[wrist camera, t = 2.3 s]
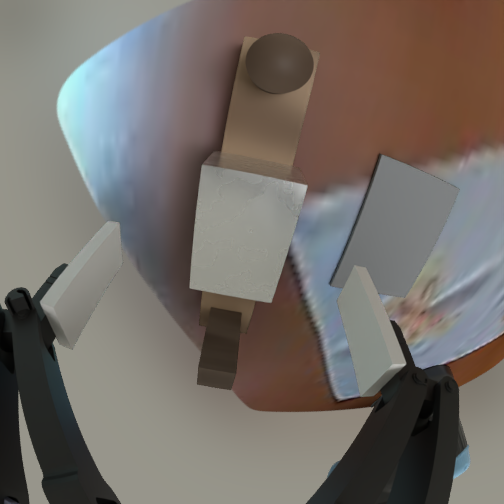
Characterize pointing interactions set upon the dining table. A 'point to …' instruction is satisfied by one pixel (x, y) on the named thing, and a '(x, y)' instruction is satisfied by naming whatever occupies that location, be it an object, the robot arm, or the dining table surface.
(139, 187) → the dining table surface
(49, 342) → the robot arm
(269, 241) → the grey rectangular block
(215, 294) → the plane body
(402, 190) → the grey mat
